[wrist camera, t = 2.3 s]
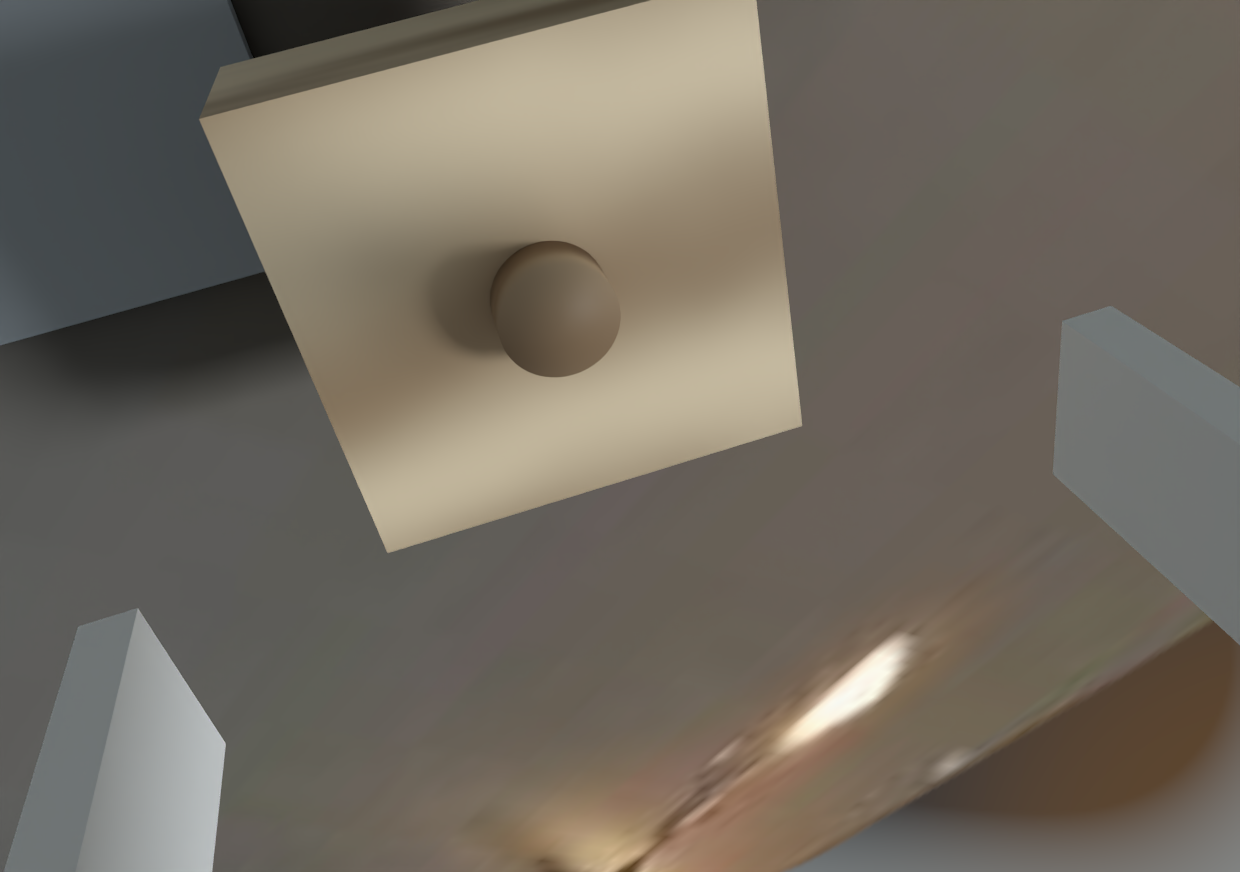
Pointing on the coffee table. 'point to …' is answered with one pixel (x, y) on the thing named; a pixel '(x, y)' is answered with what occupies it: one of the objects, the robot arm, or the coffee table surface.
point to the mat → (112, 159)
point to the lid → (520, 245)
